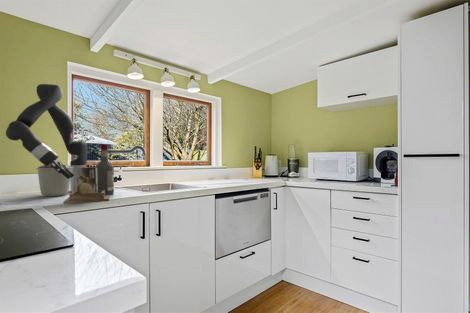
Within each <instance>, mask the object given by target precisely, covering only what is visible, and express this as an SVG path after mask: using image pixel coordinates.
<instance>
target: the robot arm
mask: <svg viewBox="0 0 470 313" xmlns="http://www.w3.org/2000/svg"><path fill="white" fill-rule="evenodd" d="M35 90H36V95H37V97H38V100H39V101H36V102H34V103H32V104H30V105H29V106H27V107H26V108H25V109H23V110H22V111H21V113H20V114H19V115H18V116H17V118H16V120H14V121H13V120H12V121H11V122H10V123H9V124H8V125H7V128H6V130H5V135H6V138H7V139H9V140H11V141H19V140H20V141H21V142H22V143H21V144H22V147H23V148H24V149H25V150H26V151H27V152H29V153H30V154H31V155H32V156H33V157H34V158H35V159H36V160H37V161H39V162H40V163H41V164H42V165H45V166H49V165H50V166H52V167H53V168H54V169H55V170H56V171H57V172H58V173H60V174H63V175H64V176H65V177H66V178H67V179H69V178H70V185H69V191H70V193H72V192H77V168H82V167H87V161H88V144H87V142H86V141H83V140H77V141H76V140H73V137H72V133H73V132H74V127H75V125H74V123H73V120H72V118H71V116H70V115H69V114H68V112H66V111H65V110H64V109H63V108H61V107H60V106H59V105H58V102H60V101H61V100H62V98H63V96H64V92H63V91H64V90H63V89H62V88H61V86H60V85H58V84H51V83H50V84H48V83H41V84H38V85H37V87H36V88H35ZM45 112H48V114H49V116H50V118H51V119H52V122H53V123H54V125H55V127H56V129H57V130H58V132H59V134H60V136H61V138H62V141H63V143H64V146H65V148H66V150H67V152H68V154H69V155H70V156H71V155H72V156H77V158H75V159H72V160H70V162H69V163H70V164H69V166H71V167H73V168H72V169H71V172H70V171H69V170H68V168H67V167H66V166H65V165H66V164H64V163H63V162H62V161H60V160H58V161H56V160H57V159H58V158H59V155H58V154H57V153H56V152H55V151H54V150H52V149H51V148H50V147H49V146H48V145H46V144H45V143H43V142H42V141H41V140H40V139H39V138H38V137H37V136H36V135H35V134H34V132H33V131H32V130H31V129H30V128H31V127H32V126H33V125H34V124H36V122H37V121H38V120H39V118H40V117H42V115H43V114H44V113H45Z"/></svg>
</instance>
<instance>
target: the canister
mask: <svg viewBox="0 0 470 313" xmlns="http://www.w3.org/2000/svg"><path fill="white" fill-rule="evenodd" d="M56 161H58V162H59V160H57V159H56ZM64 165H65V166H66V167H67V168H68V170H69V171H70V172H71V169H72V168H73V167H71V166H70V164H68V165H67V164H64ZM35 170H37V175H38V185H39V190H40V194H41V195H42V196H43V197H61V196H65V195H67V194H68V193H69V191H70V178H69V179H67V178H66V177H65V176H64V175H63V174H60V173H58V172H57V171H56V170H55V169H54V168H53V167H52V166H50V165H49V166H45V165H44V164H42V165H40V166H38V167H36V169H35Z"/></svg>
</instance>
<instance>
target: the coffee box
mask: <svg viewBox="0 0 470 313" xmlns="http://www.w3.org/2000/svg"><path fill="white" fill-rule="evenodd" d="M84 193H98V173H97V167H96V166H92V167H91V166H89V167H87V166H86V167H82V168H77V194H84Z"/></svg>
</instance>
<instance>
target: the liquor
mask: <svg viewBox="0 0 470 313" xmlns="http://www.w3.org/2000/svg"><path fill="white" fill-rule="evenodd" d="M108 148H109V147H108V144H105V143H103V144H100V149H101V150H100V154H101V155H100V156H101V158H100V161H99V162H98V163H97V164H96V165H95V167H97V173H98V191H99V190H105V195H110V196H112V195H114V194H115V184H114V183H115V179H114V178H115V177H114V176H115V173H114V172H115V170H114V165H113V164H112V163H111V161H109V157H108V150H109V149H108Z"/></svg>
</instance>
